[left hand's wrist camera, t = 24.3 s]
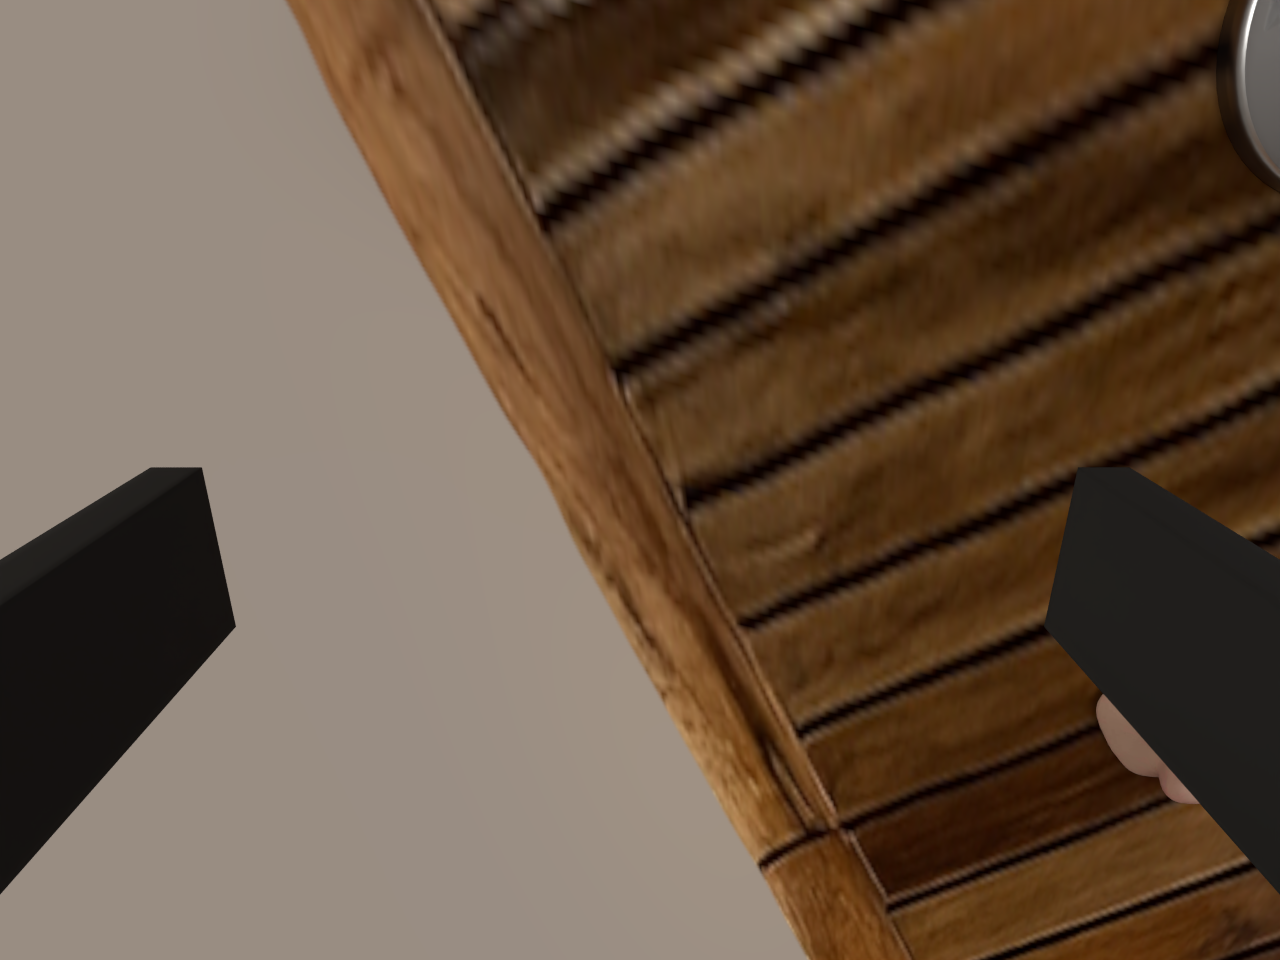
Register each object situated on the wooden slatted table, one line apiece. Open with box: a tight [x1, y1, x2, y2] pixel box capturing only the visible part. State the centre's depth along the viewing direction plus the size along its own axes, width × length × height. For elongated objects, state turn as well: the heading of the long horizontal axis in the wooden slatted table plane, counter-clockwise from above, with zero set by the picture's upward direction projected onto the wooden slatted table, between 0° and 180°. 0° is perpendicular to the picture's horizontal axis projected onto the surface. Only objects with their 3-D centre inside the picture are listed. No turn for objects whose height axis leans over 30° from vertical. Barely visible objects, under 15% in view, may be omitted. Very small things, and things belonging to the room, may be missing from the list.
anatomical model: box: [1096, 694, 1200, 804], centre depth 48 cm, size 13×4×12 cm
